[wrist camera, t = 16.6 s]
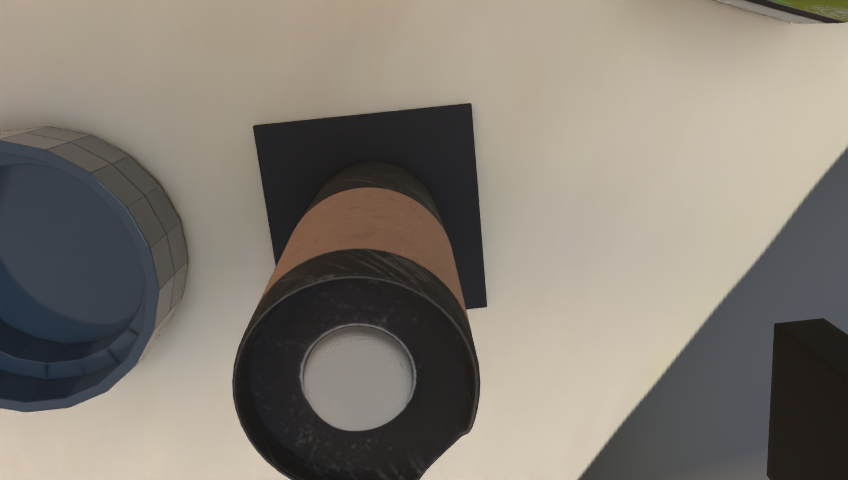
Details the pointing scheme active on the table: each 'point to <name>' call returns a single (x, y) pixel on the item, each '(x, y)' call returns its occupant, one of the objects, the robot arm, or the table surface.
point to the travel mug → (360, 337)
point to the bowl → (79, 267)
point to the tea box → (797, 10)
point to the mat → (388, 142)
